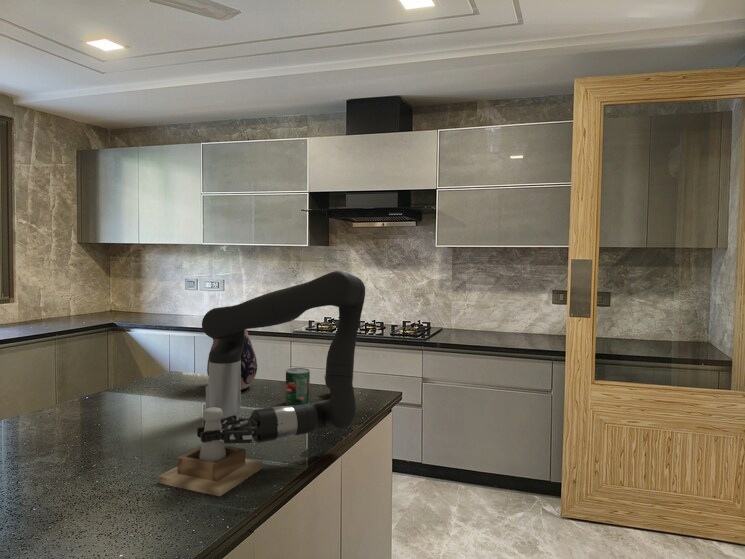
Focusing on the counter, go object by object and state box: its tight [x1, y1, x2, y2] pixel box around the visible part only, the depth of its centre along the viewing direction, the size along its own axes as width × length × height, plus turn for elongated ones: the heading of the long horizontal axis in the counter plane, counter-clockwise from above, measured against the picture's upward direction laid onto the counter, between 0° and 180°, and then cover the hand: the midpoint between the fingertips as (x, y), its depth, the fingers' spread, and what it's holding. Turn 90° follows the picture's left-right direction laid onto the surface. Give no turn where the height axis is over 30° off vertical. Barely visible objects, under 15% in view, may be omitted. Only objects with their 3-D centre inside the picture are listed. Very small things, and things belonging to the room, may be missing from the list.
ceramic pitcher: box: [206, 329, 258, 391], centre depth 200 cm, size 18×21×25 cm
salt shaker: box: [199, 407, 226, 463], centre depth 124 cm, size 6×6×13 cm
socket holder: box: [157, 445, 264, 497], centre depth 124 cm, size 16×16×5 cm
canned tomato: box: [284, 367, 311, 406], centre depth 183 cm, size 8×8×11 cm
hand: (199, 434), depth 122 cm, fingers closed on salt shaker, 3 cm apart
